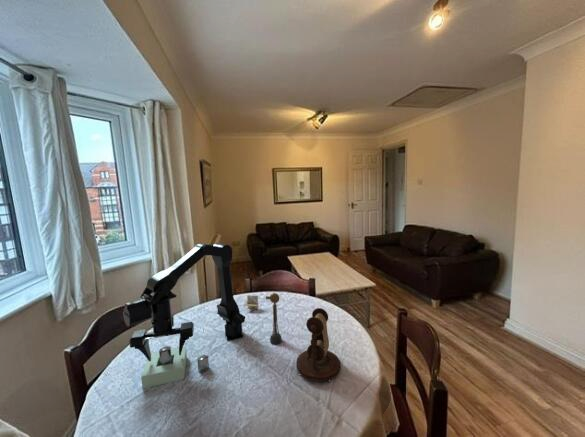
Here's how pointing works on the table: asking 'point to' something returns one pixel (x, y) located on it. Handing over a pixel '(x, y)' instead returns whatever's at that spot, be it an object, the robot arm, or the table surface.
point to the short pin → (203, 363)
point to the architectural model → (252, 302)
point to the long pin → (165, 356)
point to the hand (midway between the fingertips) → (165, 357)
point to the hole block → (164, 369)
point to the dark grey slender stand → (275, 320)
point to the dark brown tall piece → (318, 351)
